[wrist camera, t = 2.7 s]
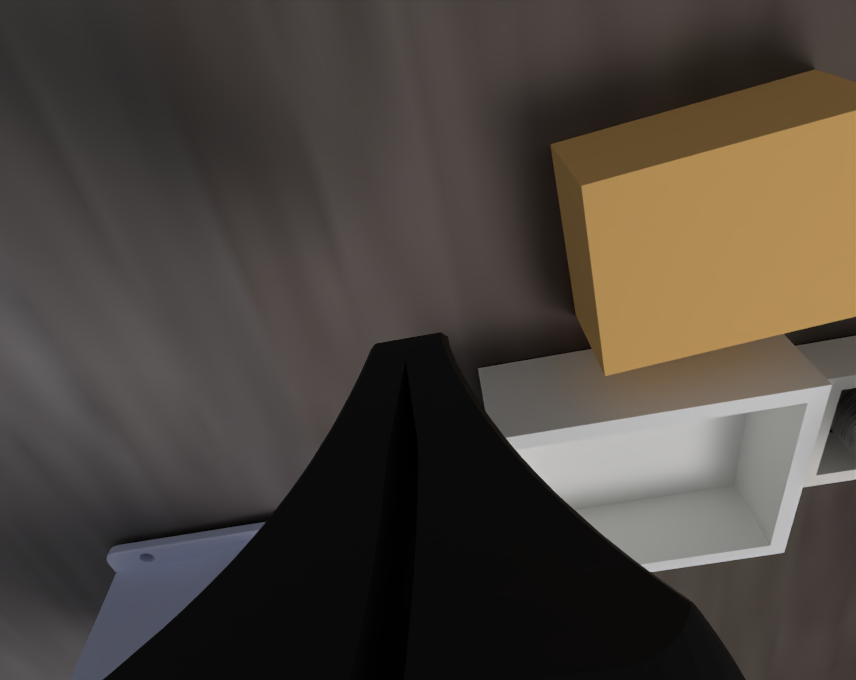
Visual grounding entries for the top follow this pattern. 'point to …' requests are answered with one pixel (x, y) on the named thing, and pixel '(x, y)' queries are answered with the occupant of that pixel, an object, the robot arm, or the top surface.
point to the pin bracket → (832, 410)
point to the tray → (670, 445)
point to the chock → (713, 221)
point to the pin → (846, 419)
